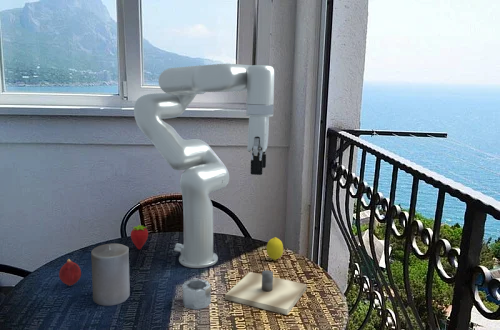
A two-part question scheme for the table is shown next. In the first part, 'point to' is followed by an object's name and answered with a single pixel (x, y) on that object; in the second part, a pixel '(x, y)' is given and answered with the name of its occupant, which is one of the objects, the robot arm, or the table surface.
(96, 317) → the table surface
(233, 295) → the post board
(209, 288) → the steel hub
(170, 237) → the table surface
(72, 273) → the onion
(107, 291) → the pillar candle
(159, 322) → the table surface
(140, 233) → the strawberry
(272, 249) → the lemon
